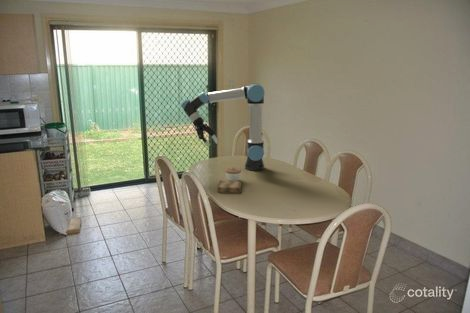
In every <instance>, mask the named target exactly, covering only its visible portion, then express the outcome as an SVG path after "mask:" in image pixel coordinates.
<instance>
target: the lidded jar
mask: <svg viewBox="0 0 470 313" xmlns="http://www.w3.org/2000/svg"><path fill="white" fill-rule="evenodd" d="M241 176H242V169H240V168H237V167H230V168H226V169H225V178H226V179H227V181H240V179H241Z"/></svg>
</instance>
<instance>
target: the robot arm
mask: <svg viewBox="0 0 470 313" xmlns="http://www.w3.org/2000/svg"><path fill="white" fill-rule="evenodd" d="M241 99H244V100H246V102H247V103H246V104H247V105H248V106H249V108H248V111H249V113H248V114H249V139H247V142H246V145H247V146H246V148H247V151H246V154H247V155H246V161H245V163H244V169H245V170H247V171H251V172H252V171H255V172H256V171H257V172H259V171H263V170H264V169H265V163H264V160H263V158H264V155H265V149H264V148H265V146H264V140H263V139H262V138H263V137H262V127H263V126H262V124H263V123H262V121H263V120H262V118H263V117H262V116H263V114H262V112H263V110H262V109H263V107H262V106H263V105H264V103H265V101H264V100H265V89H264V87H263V86H262V85H261V84H259V83H251V84H248V85H243V86H242V87H239V88H231V89H225V90H218V91H212V92H205V91H202V92H201V93H199V94H198V95H196V96H195V97H194V98H193V99H191V100H190V99H186V100H184V101H183V102H181V106H180V107H181V108H182V110H183V112H184V113H185V114H186V115H187V117H188V118H189V120H190V122H191V123H192V125H193V126H194V129H195V131H196V134H197V137H198V139H199V140H200V141H203V143H204V144H205V146H206V147H207V148H208V147H209V146H211V143H210V142H209V140H208V139H207V137H206V136H205V133H207V134H208V135H210V136H211V139H212V140H213V142H214V143H215V144H216V145H217V144H219V143H220V140H219V139H218V137H217V136H216V132H215V131H214V130H213V129H212V128H211V127H210V126H209V125H208V124H207V123H204V122H205V120H204V119H203V118H202V116H201V114H200V113H199V112H198V110H199V109H200V108H201V107H203V106H204V105H205V104H211V103H217V102H218V103H220V102H225V101H233V100H241ZM204 132H205V133H204Z"/></svg>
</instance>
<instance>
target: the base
mask: <svg viewBox="0 0 470 313" xmlns="http://www.w3.org/2000/svg"><path fill="white" fill-rule="evenodd" d="M241 190H242V181H241V180H238V181H229V180H219V183H218V186H217V193H224V192H228V193H230V194H232V193H234V194H240V193H241Z"/></svg>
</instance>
